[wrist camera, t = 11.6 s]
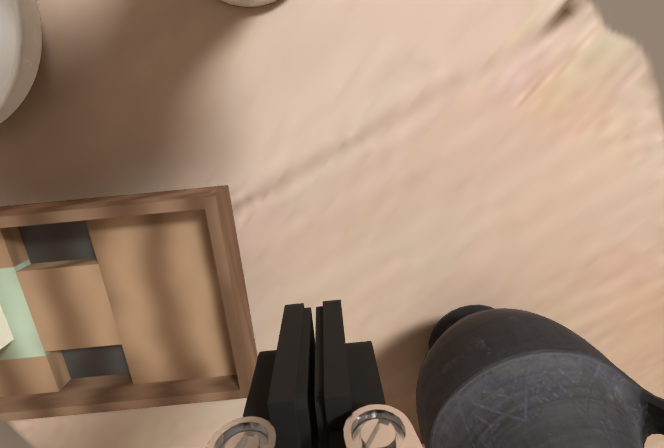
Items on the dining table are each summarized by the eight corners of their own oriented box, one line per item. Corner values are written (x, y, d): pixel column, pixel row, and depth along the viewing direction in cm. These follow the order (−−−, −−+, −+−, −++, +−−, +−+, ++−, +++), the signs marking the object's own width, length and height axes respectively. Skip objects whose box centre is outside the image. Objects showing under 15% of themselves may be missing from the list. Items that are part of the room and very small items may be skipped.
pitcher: (367, 323, 42) (470, 785, 13) (535, 222, 39) (1131, 531, 10) (442, 425, 46) (641, 936, 18) (598, 340, 44) (1138, 786, 15)
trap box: (227, 185, 37) (214, 196, 32) (259, 365, 43) (251, 397, 38) (-77, 214, 37) (-136, 229, 32) (-3, 390, 43) (-43, 425, 38)
